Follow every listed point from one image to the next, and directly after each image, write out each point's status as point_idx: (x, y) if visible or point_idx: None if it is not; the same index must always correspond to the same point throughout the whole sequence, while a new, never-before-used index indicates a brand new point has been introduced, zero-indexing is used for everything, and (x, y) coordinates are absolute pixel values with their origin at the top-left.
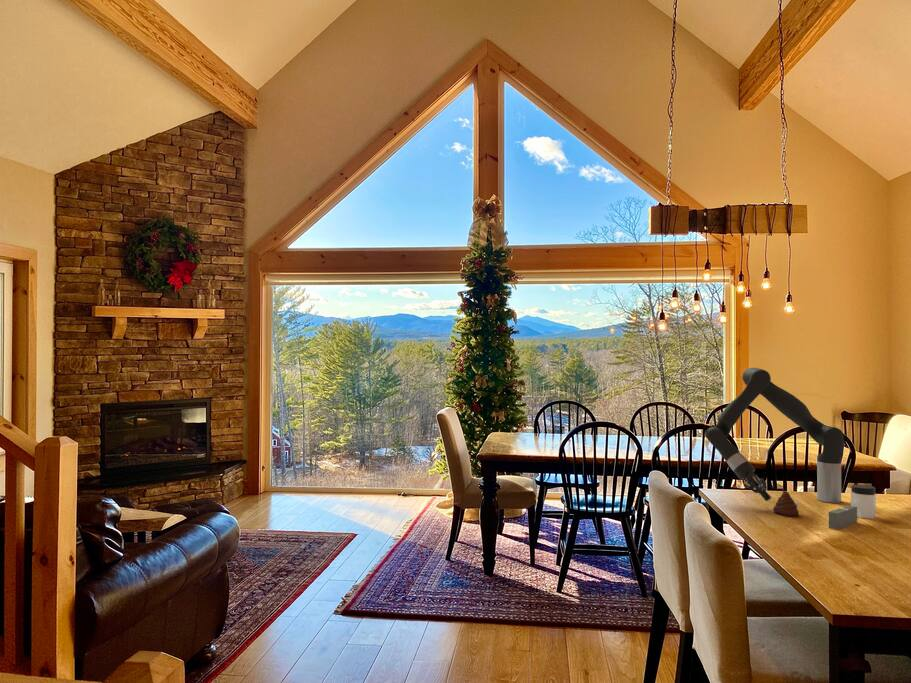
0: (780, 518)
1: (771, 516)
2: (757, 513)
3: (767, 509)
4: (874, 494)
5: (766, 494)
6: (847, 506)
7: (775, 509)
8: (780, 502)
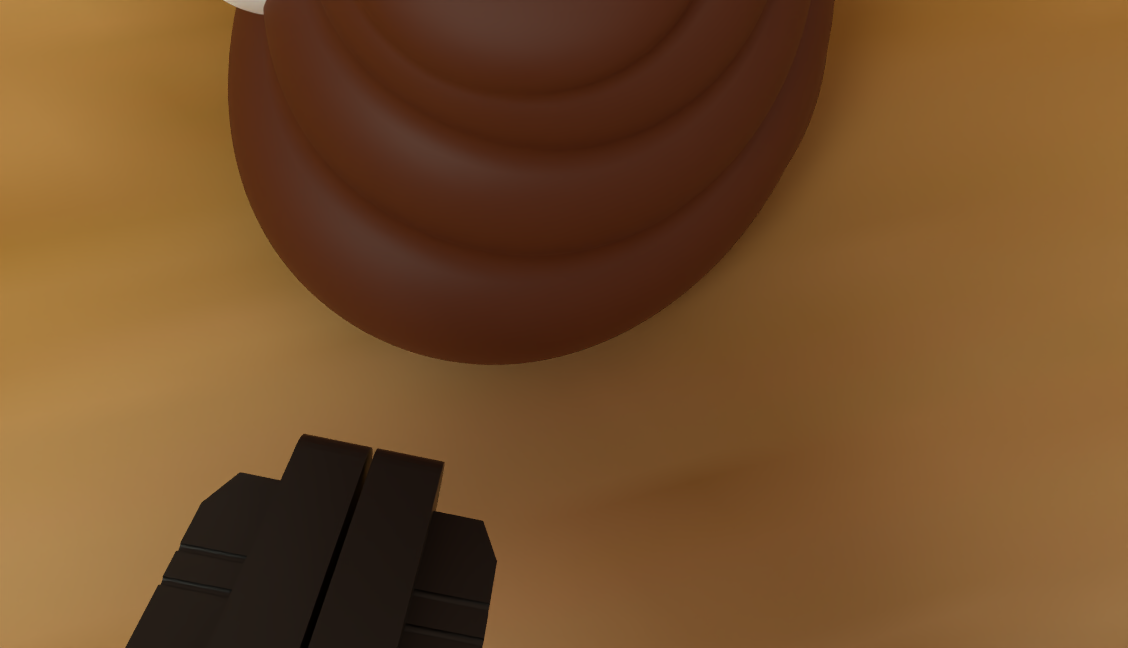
0: (1089, 81)
1: (1063, 279)
2: (1027, 634)
3: None
4: None
5: (417, 588)
6: None
7: (730, 246)
8: (794, 17)
